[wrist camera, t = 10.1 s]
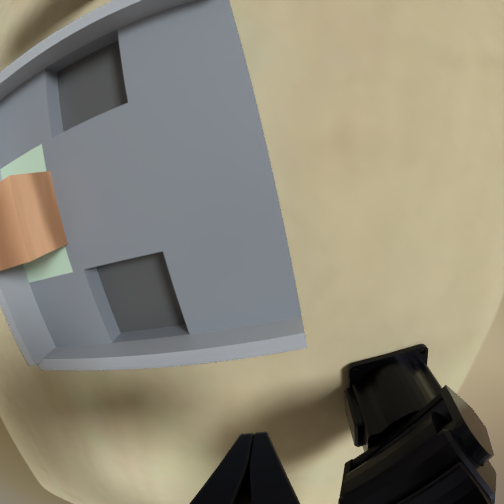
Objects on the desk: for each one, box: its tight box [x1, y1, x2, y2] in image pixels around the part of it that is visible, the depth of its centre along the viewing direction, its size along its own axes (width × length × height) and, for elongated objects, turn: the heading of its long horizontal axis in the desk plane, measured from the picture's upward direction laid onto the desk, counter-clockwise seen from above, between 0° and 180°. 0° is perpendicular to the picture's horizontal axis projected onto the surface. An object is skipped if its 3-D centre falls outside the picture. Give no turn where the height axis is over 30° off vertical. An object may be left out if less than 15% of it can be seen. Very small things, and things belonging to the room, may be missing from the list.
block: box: [0, 171, 68, 271], centre depth 15 cm, size 5×5×4 cm
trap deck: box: [0, 0, 307, 371], centre depth 16 cm, size 20×22×5 cm
